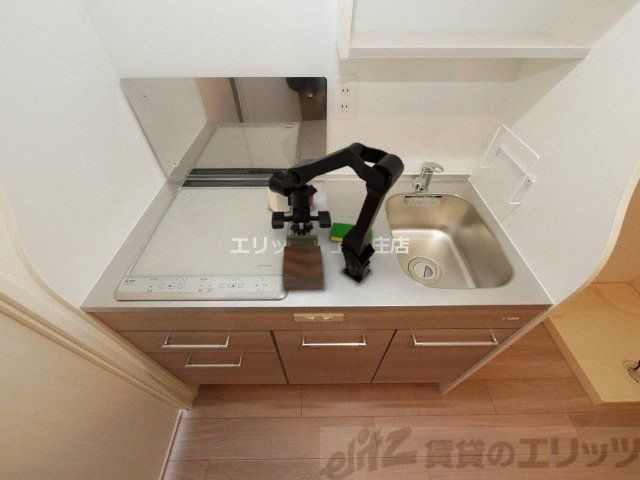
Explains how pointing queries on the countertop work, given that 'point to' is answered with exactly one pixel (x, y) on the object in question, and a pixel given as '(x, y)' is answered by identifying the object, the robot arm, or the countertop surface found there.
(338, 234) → the dish sponge
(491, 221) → the countertop surface
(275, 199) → the jar
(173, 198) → the countertop surface
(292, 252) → the cabinet
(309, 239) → the drawer
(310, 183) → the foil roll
